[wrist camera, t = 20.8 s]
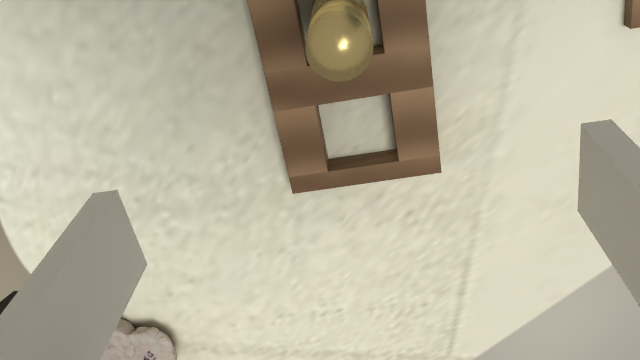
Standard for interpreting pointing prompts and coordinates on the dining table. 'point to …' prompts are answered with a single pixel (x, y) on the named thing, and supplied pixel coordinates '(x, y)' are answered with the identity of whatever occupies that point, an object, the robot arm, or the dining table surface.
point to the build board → (350, 96)
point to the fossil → (138, 344)
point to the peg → (339, 39)
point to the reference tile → (632, 14)
